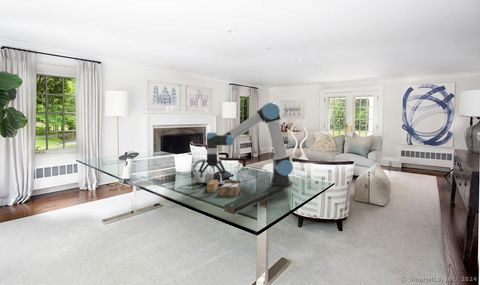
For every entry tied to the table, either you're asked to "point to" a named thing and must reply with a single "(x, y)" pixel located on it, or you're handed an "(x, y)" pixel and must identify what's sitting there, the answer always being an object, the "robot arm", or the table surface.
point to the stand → (230, 188)
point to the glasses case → (212, 186)
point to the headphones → (198, 174)
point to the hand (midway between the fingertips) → (212, 181)
